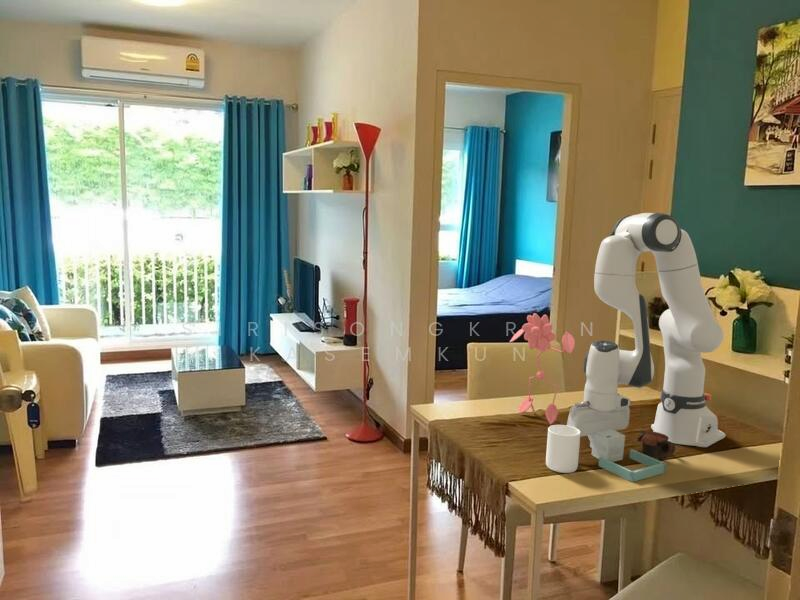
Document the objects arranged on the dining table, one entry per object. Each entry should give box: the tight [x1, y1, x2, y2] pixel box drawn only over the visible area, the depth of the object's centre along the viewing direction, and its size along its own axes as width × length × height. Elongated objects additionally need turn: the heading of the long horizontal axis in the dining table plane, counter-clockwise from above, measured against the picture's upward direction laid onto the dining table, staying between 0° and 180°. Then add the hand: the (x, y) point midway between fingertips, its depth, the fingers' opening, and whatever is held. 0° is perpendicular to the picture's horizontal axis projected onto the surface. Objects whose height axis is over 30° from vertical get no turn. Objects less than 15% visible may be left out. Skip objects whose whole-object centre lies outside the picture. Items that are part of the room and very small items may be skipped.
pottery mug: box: [636, 430, 676, 461], centre depth 180 cm, size 12×10×8 cm
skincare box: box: [591, 428, 626, 463], centre depth 178 cm, size 6×6×7 cm
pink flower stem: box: [509, 312, 576, 432], centre depth 204 cm, size 15×26×35 cm, turn 39°
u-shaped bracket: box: [598, 448, 667, 483], centre depth 171 cm, size 13×11×2 cm
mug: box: [545, 424, 581, 474], centre depth 172 cm, size 12×8×10 cm
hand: (595, 447), depth 182 cm, fingers closed, pressing on skincare box
